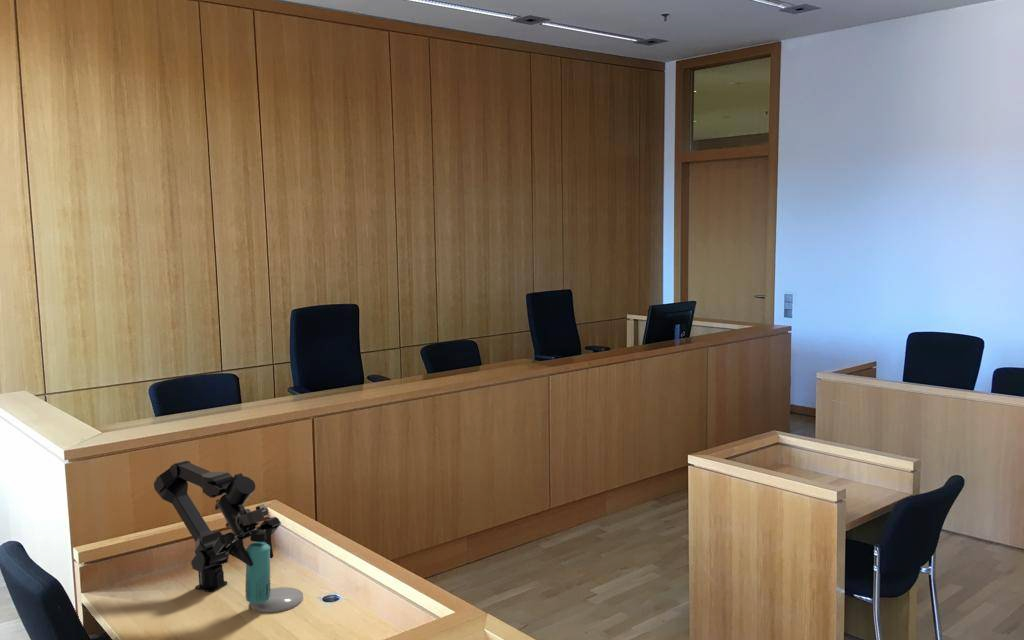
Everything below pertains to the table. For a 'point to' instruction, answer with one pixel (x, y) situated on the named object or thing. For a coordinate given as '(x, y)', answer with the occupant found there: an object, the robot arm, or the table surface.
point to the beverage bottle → (258, 569)
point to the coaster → (279, 600)
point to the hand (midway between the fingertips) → (262, 561)
